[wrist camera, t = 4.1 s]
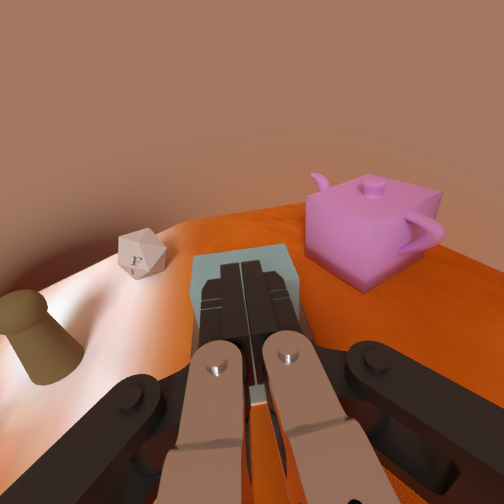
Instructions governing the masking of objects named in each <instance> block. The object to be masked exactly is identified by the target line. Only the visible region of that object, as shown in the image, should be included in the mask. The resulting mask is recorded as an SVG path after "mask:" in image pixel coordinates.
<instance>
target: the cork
mask: <svg viewBox="0 0 504 504" xmlns="http://www.w3.org/2000/svg"><path fill="white" fill-rule="evenodd" d="M47 309H48V306H47V302H46V300H45V298H44V297H43V296H42V295H41V294H40V293H38V292H36V291H33V290H19V291H15V292H12V293H9V294H7V295H5V296H3V297H1V298H0V334H2V335H6V336H7V338H8V340H9V342H10V343H11V345H12V347H13V349H14V350H15V352H16V354H17V356H18V358H19V359H20V361H21V363H22V365H23V366H24V368H25V370H26V372H27V373H28V375H29V377H30V379H31V380H32V382H33V383H35V384H36V385H48V384H52V383H55V382H57V381H60V380H61V379H63V378H65V377H66V376H68V375H69V374H70V373H71V372H72V371H74V370H75V369H76V367H77V366H78V365H79V364H80V362H81V360H82V358H83V356H84V350H83V348H82V346H81V345H80V344H79V343H78V342H77V341H76V340H75V339H74V338H73V337H72V336H71V335H70V334H69V333H68V332H67V331H66V330H65V329H64V328H63V327H62V326H61V325H60V324H59V323H58V322H57V321H56V320H55V319H54V318H53V317H52V316H51V315H50V314H49V313H48V312H47Z"/></svg>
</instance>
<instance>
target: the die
mask: <svg viewBox="0 0 504 504" xmlns="http://www.w3.org/2000/svg"><path fill="white" fill-rule="evenodd" d="M166 253H167V247H166V246H165V245H164V244H163V243H162V242H161V241H160V239H159V238H158V237H157V236H156V235H155V234H154V233H153V232H152V231H151V229H150V228H146V229H143V230H140V231H136V232H133V233H130V234H126V235H123V236H119V252H118V265H119V266H120V267H122V268H123V269H124V270H125V271H126V272H127V273H128V274H130V275H131V276H132V277H133V278H134V279H135V280H139V279H141V278H144V277H147V276H150V275H153V274H155V273H158V272H161V271H164V269H165V261H166Z"/></svg>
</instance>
